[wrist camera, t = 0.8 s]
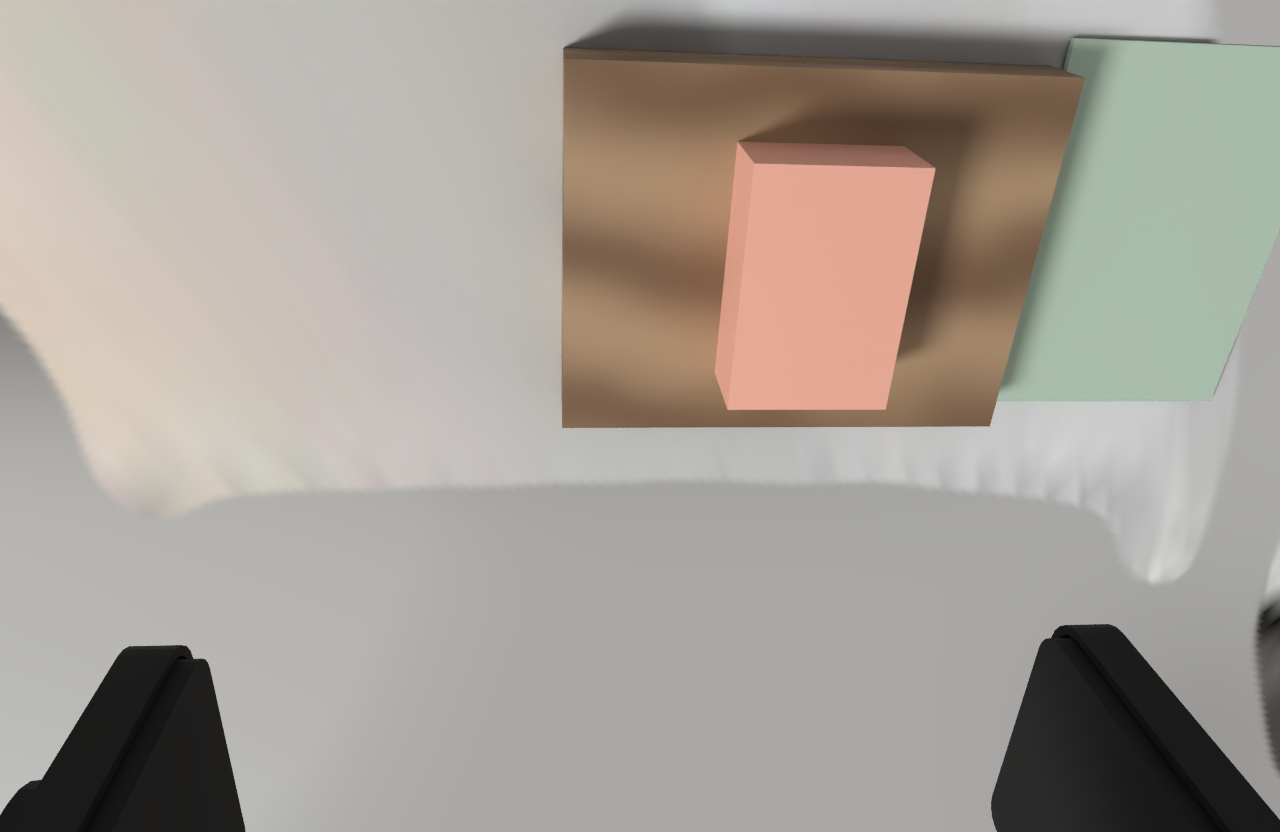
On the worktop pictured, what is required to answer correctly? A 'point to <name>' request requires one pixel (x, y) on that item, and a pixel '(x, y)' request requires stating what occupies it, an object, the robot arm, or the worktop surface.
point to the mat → (1152, 224)
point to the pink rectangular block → (818, 273)
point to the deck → (701, 204)
